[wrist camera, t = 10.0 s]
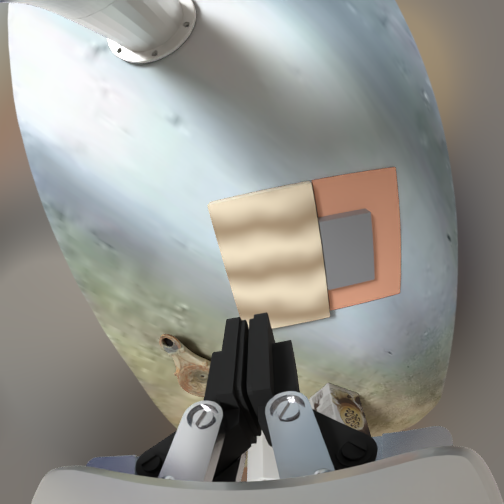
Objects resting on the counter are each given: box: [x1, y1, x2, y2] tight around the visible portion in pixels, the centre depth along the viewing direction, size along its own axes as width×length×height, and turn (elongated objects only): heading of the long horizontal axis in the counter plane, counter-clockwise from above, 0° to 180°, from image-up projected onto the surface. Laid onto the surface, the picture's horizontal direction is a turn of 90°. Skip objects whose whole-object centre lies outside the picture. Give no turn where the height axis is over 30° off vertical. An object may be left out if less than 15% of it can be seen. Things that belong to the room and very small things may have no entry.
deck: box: [208, 181, 330, 329], centre depth 39 cm, size 20×13×2 cm, turn 13°
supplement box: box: [247, 431, 280, 482], centre depth 50 cm, size 9×9×15 cm
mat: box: [312, 167, 401, 310], centre depth 38 cm, size 20×12×1 cm, turn 13°
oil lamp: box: [159, 334, 211, 397], centre depth 44 cm, size 9×21×10 cm, turn 28°
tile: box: [317, 208, 375, 290], centre depth 37 cm, size 10×7×2 cm
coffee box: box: [309, 383, 371, 437], centre depth 44 cm, size 9×6×16 cm
